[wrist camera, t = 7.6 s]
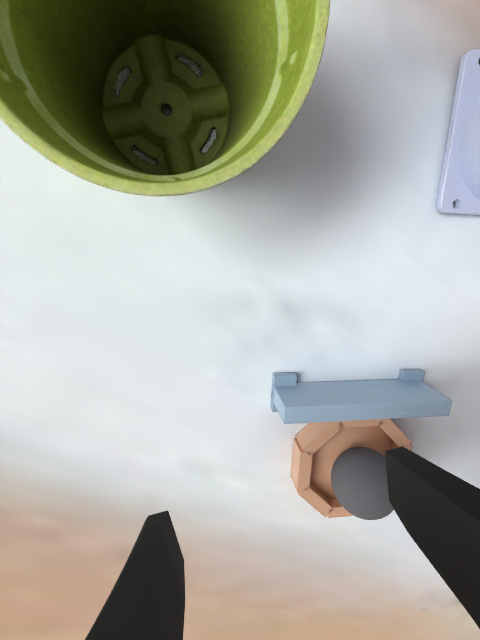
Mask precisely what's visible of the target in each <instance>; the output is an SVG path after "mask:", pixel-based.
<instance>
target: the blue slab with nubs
mask: <svg viewBox="0 0 480 640" xmlns="http://www.w3.org/2000/svg"><path fill="white" fill-rule="evenodd" d="M424 374H425V372H424V371H423V370H421V369H400V374H399V379H389V380H358V381H326V382H297V375H296V373H295V372H285V373H273V378H272V395H271V410H272V412H278V413H279V415H280V417H281V419H282V421H283V423H284V424H294V423H314V422H334V421H353V420H373V419H393V418H413V417H433V416H449V414H450V409H451V404H452V400H451V399H450V398H448V397H446V396H445V395H443V394H442V393H440V392H438V391H437V390H435V389H434V388H432V387H431V386H429V385H427V384H426V383H424V382H423V379H424Z"/></svg>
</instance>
